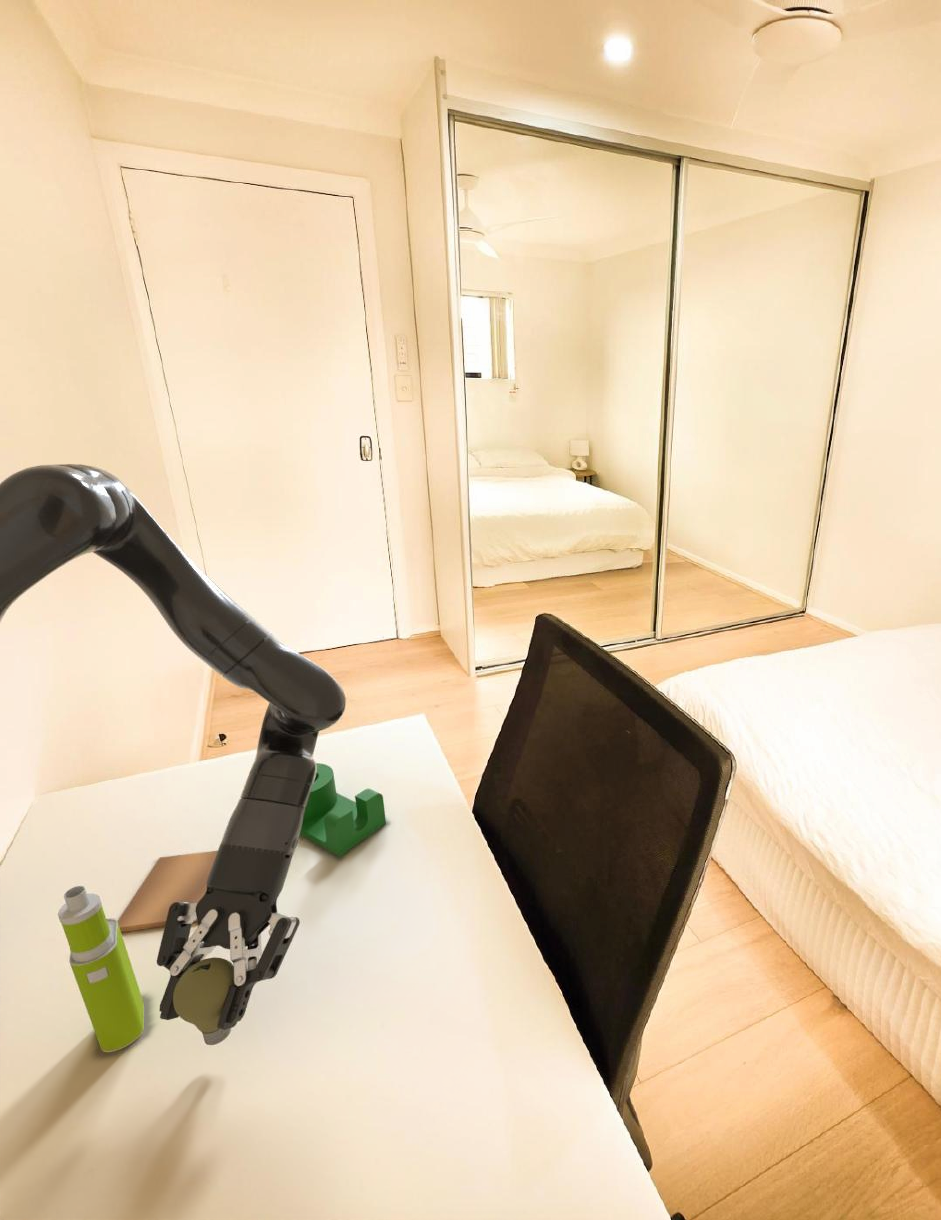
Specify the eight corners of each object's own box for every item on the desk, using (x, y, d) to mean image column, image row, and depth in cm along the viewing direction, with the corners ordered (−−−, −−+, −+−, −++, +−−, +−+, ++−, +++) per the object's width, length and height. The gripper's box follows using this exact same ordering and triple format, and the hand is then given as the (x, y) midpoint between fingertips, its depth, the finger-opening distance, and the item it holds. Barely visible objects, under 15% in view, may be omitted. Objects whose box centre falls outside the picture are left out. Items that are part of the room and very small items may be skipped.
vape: (100, 1059, 63) (46, 914, 57) (103, 1014, 68) (54, 874, 61) (144, 1039, 65) (97, 896, 59) (144, 996, 70) (100, 859, 63)
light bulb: (241, 1002, 67) (225, 935, 64) (256, 1039, 64) (240, 969, 60) (182, 1036, 64) (162, 967, 60) (194, 1077, 60) (174, 1006, 57)
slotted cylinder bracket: (267, 816, 100) (261, 784, 98) (315, 788, 107) (310, 757, 105) (339, 856, 92) (334, 822, 90) (385, 823, 99) (382, 790, 97)
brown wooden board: (113, 933, 78) (112, 928, 78) (160, 861, 90) (159, 857, 90) (249, 914, 81) (248, 909, 81) (277, 847, 93) (276, 843, 93)
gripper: (177, 834, 65) (103, 1019, 58) (300, 850, 63) (240, 1042, 56) (221, 840, 72) (160, 1006, 64) (334, 855, 70) (284, 1027, 63)
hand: (198, 1022), depth 60 cm, fingers closed on light bulb, 5 cm apart
